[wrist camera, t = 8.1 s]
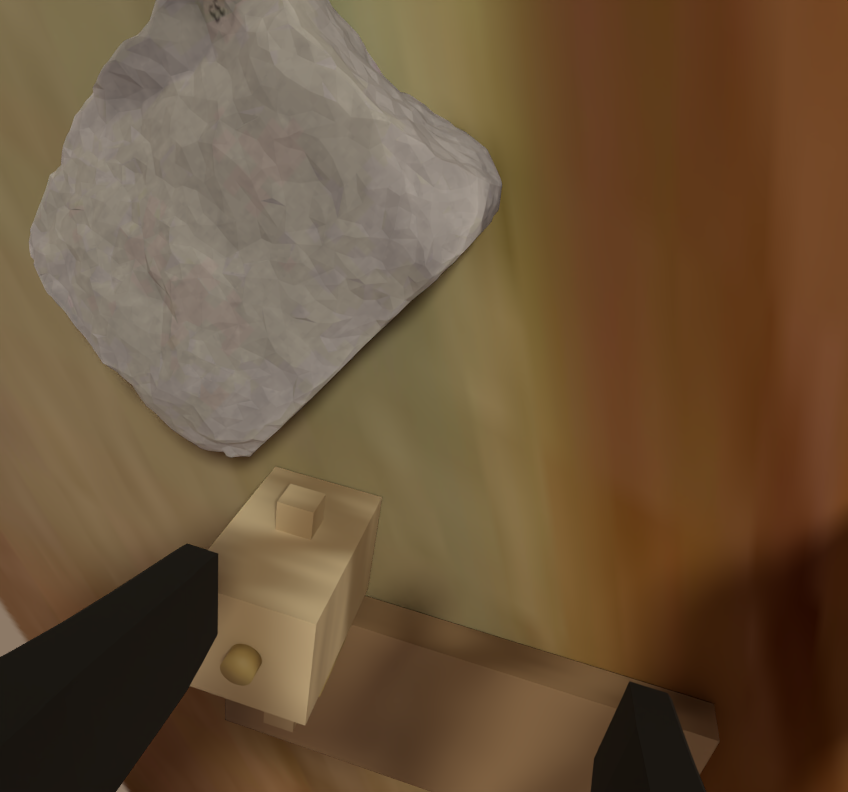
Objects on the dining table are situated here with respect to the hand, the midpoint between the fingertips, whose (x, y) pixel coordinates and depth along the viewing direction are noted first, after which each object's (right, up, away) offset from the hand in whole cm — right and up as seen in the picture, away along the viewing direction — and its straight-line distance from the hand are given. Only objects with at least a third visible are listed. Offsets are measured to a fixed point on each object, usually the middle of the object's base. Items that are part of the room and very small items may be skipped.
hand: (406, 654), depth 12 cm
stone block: (-4, +10, +9) cm, 14 cm away
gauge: (-4, -2, +14) cm, 15 cm away
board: (+1, -8, +16) cm, 17 cm away
